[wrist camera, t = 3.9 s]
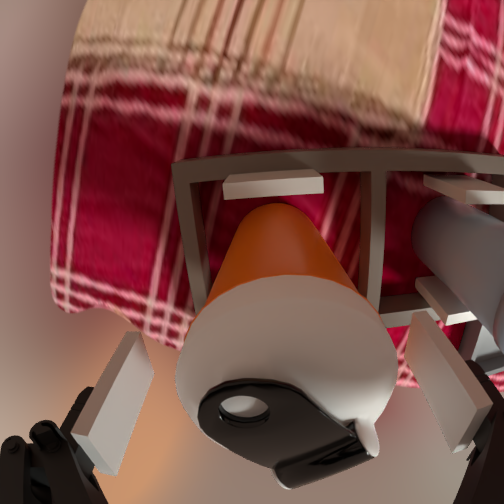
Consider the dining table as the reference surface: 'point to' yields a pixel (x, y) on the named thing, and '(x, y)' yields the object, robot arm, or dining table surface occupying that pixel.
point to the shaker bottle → (287, 354)
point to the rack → (372, 209)
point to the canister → (465, 257)
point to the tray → (481, 348)
